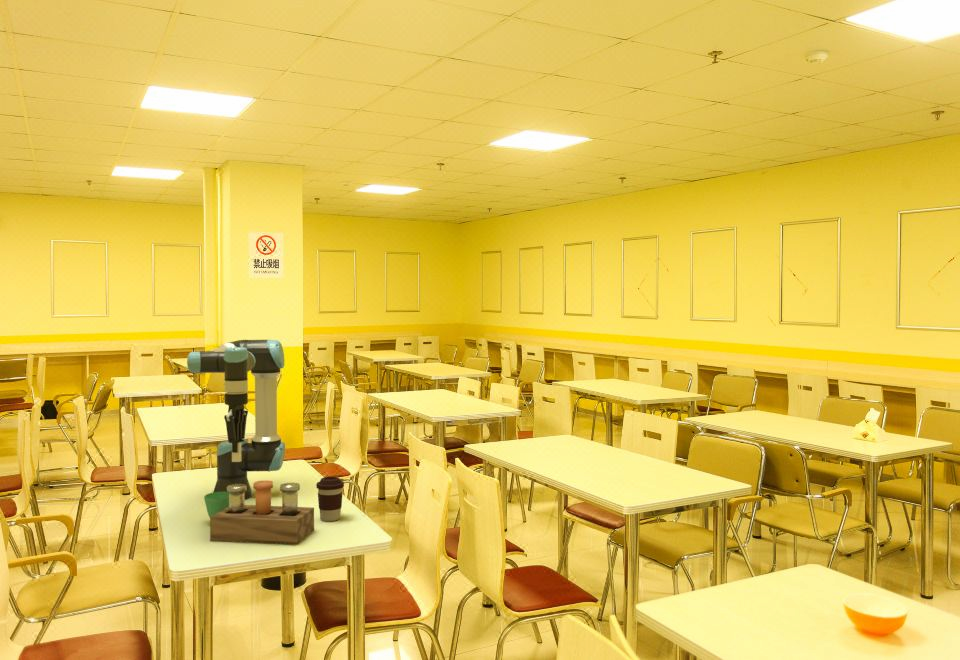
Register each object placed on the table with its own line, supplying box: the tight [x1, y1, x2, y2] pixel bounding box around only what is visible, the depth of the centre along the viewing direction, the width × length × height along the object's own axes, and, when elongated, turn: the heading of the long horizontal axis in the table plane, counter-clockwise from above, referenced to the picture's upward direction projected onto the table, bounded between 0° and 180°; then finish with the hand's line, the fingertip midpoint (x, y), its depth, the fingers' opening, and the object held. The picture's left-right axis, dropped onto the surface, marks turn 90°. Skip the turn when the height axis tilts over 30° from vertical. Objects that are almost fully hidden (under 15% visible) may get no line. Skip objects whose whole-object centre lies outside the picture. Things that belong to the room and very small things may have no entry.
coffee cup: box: [315, 476, 345, 522], centre depth 265 cm, size 10×10×15 cm
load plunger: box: [252, 480, 274, 515], centre depth 245 cm, size 6×6×11 cm
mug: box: [203, 492, 229, 519], centre depth 262 cm, size 15×10×10 cm
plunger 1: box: [227, 484, 247, 514], centre depth 247 cm, size 6×6×11 cm
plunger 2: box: [279, 482, 301, 516], centre depth 244 cm, size 6×6×11 cm
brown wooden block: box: [209, 504, 315, 546], centre depth 246 cm, size 16×30×8 cm, turn 83°
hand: (236, 461), depth 246 cm, fingers closed
